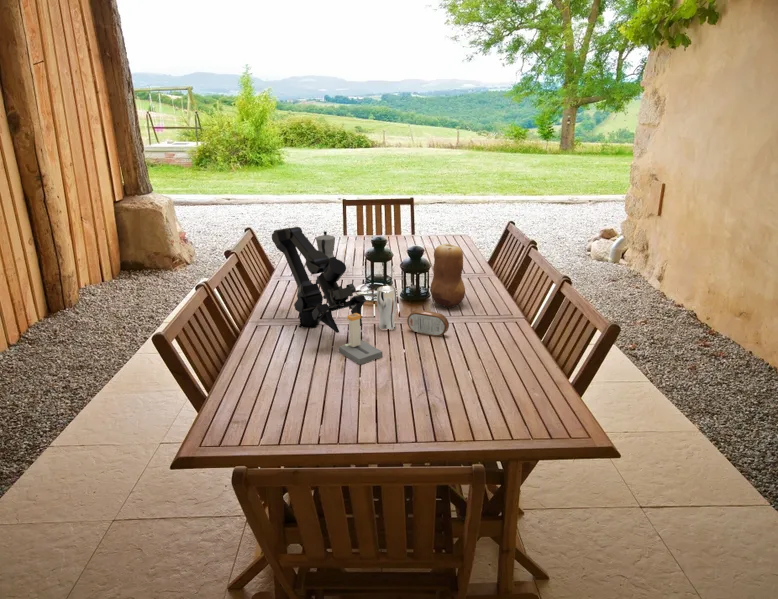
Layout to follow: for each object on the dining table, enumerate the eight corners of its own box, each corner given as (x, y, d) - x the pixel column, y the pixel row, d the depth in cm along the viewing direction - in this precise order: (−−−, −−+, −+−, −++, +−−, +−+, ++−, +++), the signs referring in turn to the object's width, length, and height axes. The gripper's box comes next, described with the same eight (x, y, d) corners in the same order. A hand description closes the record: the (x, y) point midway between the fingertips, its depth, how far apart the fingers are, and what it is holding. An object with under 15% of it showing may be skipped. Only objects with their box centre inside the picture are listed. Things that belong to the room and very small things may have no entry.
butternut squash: (466, 301, 237) (468, 241, 228) (462, 312, 224) (464, 250, 216) (432, 298, 240) (433, 239, 231) (427, 310, 227) (428, 248, 219)
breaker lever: (348, 345, 191) (347, 315, 188) (357, 342, 194) (356, 312, 190) (352, 347, 190) (351, 317, 186) (361, 344, 192) (360, 315, 188)
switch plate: (338, 352, 192) (338, 346, 191) (361, 345, 197) (361, 339, 197) (359, 364, 183) (359, 358, 182) (382, 357, 188) (382, 350, 188)
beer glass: (394, 332, 207) (394, 292, 202) (375, 330, 209) (374, 291, 204) (398, 324, 214) (397, 286, 209) (379, 323, 215) (379, 285, 210)
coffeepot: (319, 263, 290) (317, 228, 283) (338, 263, 289) (336, 228, 283) (314, 272, 275) (312, 235, 269) (334, 272, 275) (332, 235, 269)
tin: (448, 335, 204) (449, 313, 201) (445, 339, 201) (446, 316, 198) (409, 329, 210) (409, 307, 207) (406, 332, 207) (406, 310, 204)
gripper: (314, 282, 185) (334, 325, 181) (362, 271, 195) (382, 311, 191) (303, 299, 193) (322, 340, 189) (350, 287, 204) (368, 326, 200)
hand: (349, 328), depth 192 cm, fingers open, 9 cm apart
